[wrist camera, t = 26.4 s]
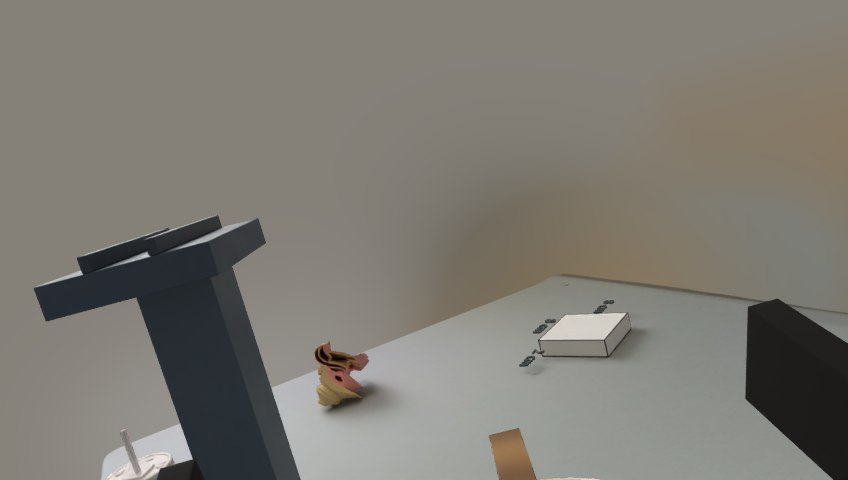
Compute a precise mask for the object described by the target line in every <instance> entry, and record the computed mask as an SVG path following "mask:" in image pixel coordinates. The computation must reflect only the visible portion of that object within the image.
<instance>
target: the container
mask: <svg viewBox="0 0 848 480" xmlns="http://www.w3.org/2000/svg"><path fill="white" fill-rule="evenodd" d="M603 303H604V304H608V303H609V304H612V303H614V300H610V301H609V300H606V301H604V302H603ZM601 307H604V308H601ZM606 308H607V306H606V305H601V306H599V307H598V308H597V310H595V312H594V314H569V315H564V316H563V317H562V318H561V319H560V320H559V321H558V322H557V323H556V324H555V325H554V326H553V327H552V328H551V329H550V330H549V331H547V332H546V333H545V334H544V335H543V336H542V337H541V338H540V339H539V340H538V342H539V346H540V350H541V352H538V351H537V350H536V349H535V350H534V351H533V352H532V354H534V353H535V352H536V353H537V354H542V356H566V357H609V356H610V355H611V353H612V352H613V351H614V349H615V348H616V347H617V346H618V344H619V343H620V342H621V341H622V339H623V338H624V337H625V336H626V334H627V333H628V332H629V331H630V329H631V325H630V320H629V315H628V313H602V311H604V310H605V309H606ZM598 313H599V314H598ZM554 322H556V320H555V319H552V320H551V319H547V320H545V323H554ZM545 328H547V325H546V324H543V325H540V326H539V328H537V329H536V330H535V331H533V334H537V333H542V331H544V329H545ZM529 358H532V360H535V356H528V357H526V359H525V360H524V362H522V364H519V366H522V367H525V366H528V365H529V364H530V363H531V362H532V360H529Z"/></svg>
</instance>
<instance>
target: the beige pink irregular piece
mask: <svg viewBox="0 0 848 480" xmlns="http://www.w3.org/2000/svg"><path fill="white" fill-rule="evenodd" d="M314 358H315V360H316V362H317V363H318V364H319V365H320V366H321V368H319V369H318V374H319V375H321V377H320V378H319V379H320V383H321V385H319V386H317V390H316V391H317V393H318V395H319V401H318V403H319V404H321V405H324V406H327V405H329V404H334V405H337V404H339V403H340V400H341V398H342V399H344V398H355V397H357V398H361V397H360V396H359V395H357V394H356V393H354V392H352V391H354V390H357V389H360V388H362V387H361V385H360V384H359V383H358V382H357V381H355V380H354V379H353V378H352V377H350V376H349V375H350V372H351V371H353V370H358V371H361V370H362V369H363V368H364V367H365V366H366V365H367V363H368V362H369V360H368V356H367V355H366V354H365V353H362V354H359V355H356V356H351V355H348V354H346V353H342V352H336V351H331V349H330V342H326V343H323V344H321V345H320V346H318V347H317V348H316V350H315V352H314ZM328 360H329V361H328ZM361 399H362V398H361Z"/></svg>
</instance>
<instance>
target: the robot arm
mask: <svg viewBox="0 0 848 480" xmlns="http://www.w3.org/2000/svg"><path fill="white" fill-rule="evenodd" d="M745 399H746V400H747V401H748V402H749V403H750V404H752V405H753V406H754V407H755V408H756V409H757V410H758V411H759V412H760V413H761V414H762V415H764V416H765V417H766V418H767V419H768V420H769V421H770V422H771V423H772V424H773V425H774V426H775V427H777V428H778V429H779V430H780V431H781V432H782V433H783V434H784V435H785V436H786V437H787V438H789V439H790V440H791V441H792V442H793V443H794V444H795V445H796V446H797V447H798V448H799V449H801V450H802V451H803V452H804V453H805V454H806V455H807V456H808V457H809V458H810V459H811V460H812V461H814V462H815V463H816V464H817V465H818V466H819V467H820V468H821V469H822V470H823V471H824V472H826V473H827V474H828V475H829V476H830V477H831V478H832V479H833V480H848V343H846V342H845V341H843V340H841V339H840V338H838V337H837V336H835V335H834V334H832V333H831V332H829V331H827V330H826V329H824V328H823V327H821V326H820V325H818V324H816V323H815V322H813V321H812V320H810V319H809V318H807V317H806V316H804V315H802V314H801V313H799V312H798V311H796V310H795V309H793V308H791V307H790V306H788V305H787V304H785V303H784V302H782V301H780V300H779V299H775V300H772V301H767V302H764V303H760V304H756V305H753V306H749V307H748V324H747V360H746V397H745ZM156 480H205V479H204V477H203V475H202V472H201V470H200V468H199V466H198V464H197V462H196V459H193V460H189V461H186V462H182V463H178V464H175V465H171V466H167V467H164V468H160V470H159V473H158V476H157V479H156Z"/></svg>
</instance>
